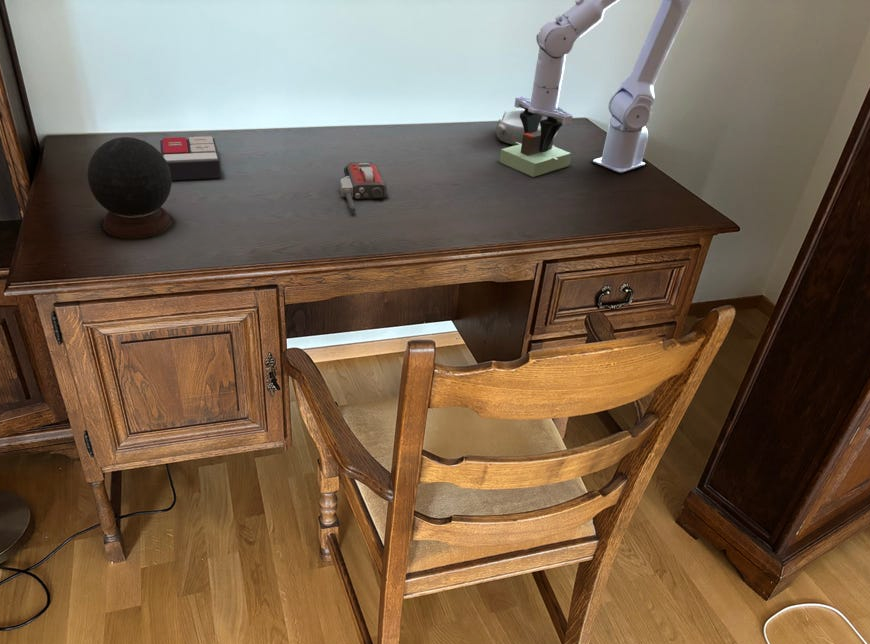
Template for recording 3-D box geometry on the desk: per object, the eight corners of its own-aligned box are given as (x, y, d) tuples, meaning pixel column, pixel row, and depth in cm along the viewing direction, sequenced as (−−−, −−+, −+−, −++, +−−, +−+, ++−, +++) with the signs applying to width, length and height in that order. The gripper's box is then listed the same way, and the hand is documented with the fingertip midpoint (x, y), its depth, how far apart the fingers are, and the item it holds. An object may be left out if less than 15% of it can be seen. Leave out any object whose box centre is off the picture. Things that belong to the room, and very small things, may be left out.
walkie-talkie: (334, 174, 153) (347, 216, 138) (334, 154, 151) (347, 194, 135) (376, 174, 155) (393, 215, 139) (377, 153, 153) (395, 193, 137)
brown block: (544, 146, 167) (547, 127, 165) (551, 149, 166) (555, 130, 163) (520, 152, 163) (523, 133, 160) (527, 155, 161) (530, 136, 159)
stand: (531, 150, 173) (533, 137, 171) (572, 167, 166) (575, 153, 164) (495, 160, 166) (497, 146, 164) (536, 179, 159) (538, 164, 157)
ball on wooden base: (100, 245, 123) (83, 157, 114) (94, 212, 132) (77, 128, 123) (183, 235, 127) (172, 150, 119) (170, 204, 137) (160, 123, 128)
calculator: (214, 134, 157) (219, 156, 145) (215, 154, 160) (221, 178, 148) (159, 136, 154) (160, 159, 142) (162, 156, 157) (163, 181, 145)
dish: (496, 146, 173) (499, 125, 170) (491, 127, 185) (493, 106, 182) (557, 150, 174) (561, 129, 171) (548, 130, 185) (552, 110, 182)
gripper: (508, 78, 158) (500, 141, 166) (561, 97, 149) (549, 162, 157) (530, 74, 162) (521, 136, 170) (583, 92, 153) (571, 156, 161)
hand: (536, 148), depth 164 cm, fingers open, 3 cm apart
